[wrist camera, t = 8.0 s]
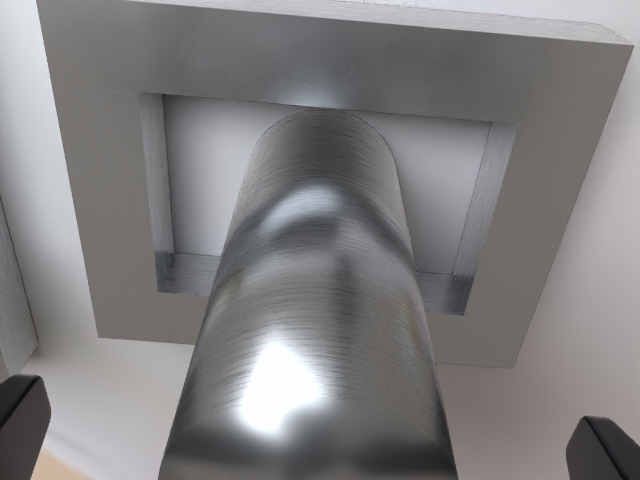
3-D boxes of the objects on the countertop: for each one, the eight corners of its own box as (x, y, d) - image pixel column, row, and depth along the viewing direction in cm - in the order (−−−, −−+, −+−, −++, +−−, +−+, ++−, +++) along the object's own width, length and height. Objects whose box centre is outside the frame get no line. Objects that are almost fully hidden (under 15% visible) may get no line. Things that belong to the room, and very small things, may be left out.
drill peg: (408, 116, 16) (492, 409, 7) (385, 248, 18) (429, 582, 10) (247, 103, 15) (143, 385, 7) (246, 237, 18) (169, 565, 10)
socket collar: (598, 24, 14) (634, 45, 12) (497, 325, 20) (512, 368, 18) (71, -24, 14) (34, -8, 12) (118, 296, 19) (98, 337, 18)
